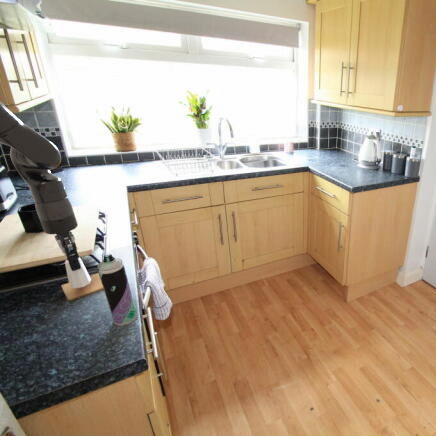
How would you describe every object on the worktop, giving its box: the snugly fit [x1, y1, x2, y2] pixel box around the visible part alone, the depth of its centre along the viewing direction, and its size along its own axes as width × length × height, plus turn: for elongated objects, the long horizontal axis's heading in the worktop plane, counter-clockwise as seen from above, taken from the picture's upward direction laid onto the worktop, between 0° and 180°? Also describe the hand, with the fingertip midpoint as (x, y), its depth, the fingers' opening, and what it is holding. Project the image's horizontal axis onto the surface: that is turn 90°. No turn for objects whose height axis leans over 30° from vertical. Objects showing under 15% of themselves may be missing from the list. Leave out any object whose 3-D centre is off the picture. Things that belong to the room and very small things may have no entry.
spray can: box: [97, 253, 138, 327], centre depth 83 cm, size 6×6×20 cm
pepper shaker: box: [63, 253, 91, 288], centre depth 95 cm, size 5×5×11 cm
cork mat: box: [60, 272, 104, 302], centre depth 98 cm, size 12×10×1 cm
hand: (74, 266), depth 95 cm, fingers closed on pepper shaker, 4 cm apart
